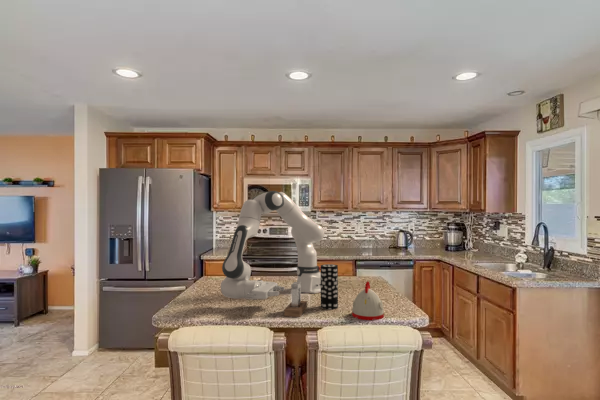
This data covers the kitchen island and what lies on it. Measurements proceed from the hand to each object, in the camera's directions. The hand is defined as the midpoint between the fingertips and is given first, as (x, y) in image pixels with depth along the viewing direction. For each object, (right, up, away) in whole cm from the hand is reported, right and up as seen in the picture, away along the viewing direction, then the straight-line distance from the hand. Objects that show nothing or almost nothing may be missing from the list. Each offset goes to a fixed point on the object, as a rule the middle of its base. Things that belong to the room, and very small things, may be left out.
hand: (281, 291), depth 169 cm
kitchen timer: (+39, -9, -8) cm, 41 cm away
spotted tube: (+23, -9, +6) cm, 25 cm away
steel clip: (+7, -9, -2) cm, 11 cm away
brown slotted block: (+7, -9, -2) cm, 11 cm away
